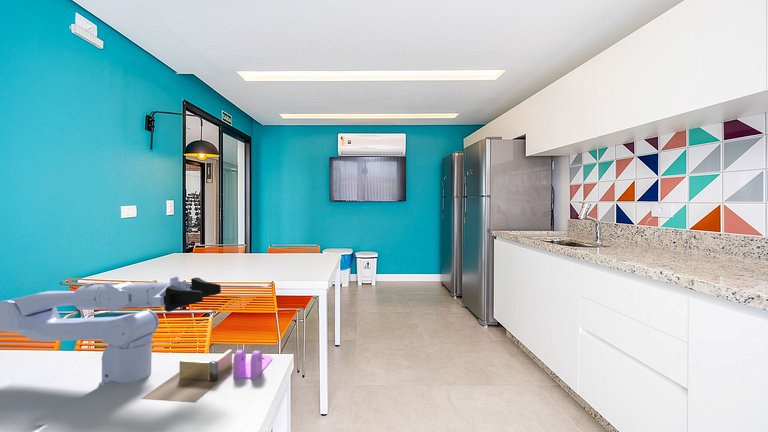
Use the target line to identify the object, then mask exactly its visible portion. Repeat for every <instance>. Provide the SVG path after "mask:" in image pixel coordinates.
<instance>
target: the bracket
mask: <svg viewBox="0 0 768 432" xmlns="http://www.w3.org/2000/svg"><path fill="white" fill-rule="evenodd" d="M272 361H273V357H272V356H271V355H269V354H268V355H266V354H263V351H261V350H254V351H253V352H252V354H251V357H250V359H249V360H248V361H247V353H246V350H244V349H237V350H236V351H235V353H234V356H233V360H232V363H233V370H232V371H233V372H232V373H233V374H232V378H233V379H250V380H251V379H253V380H255V379H257V378H258V377H259V376H260V375H261V374H262V372H263V371H264V370H265V369H266V368H267V367H268V366H269V364H270V363H271V362H272Z"/></svg>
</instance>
